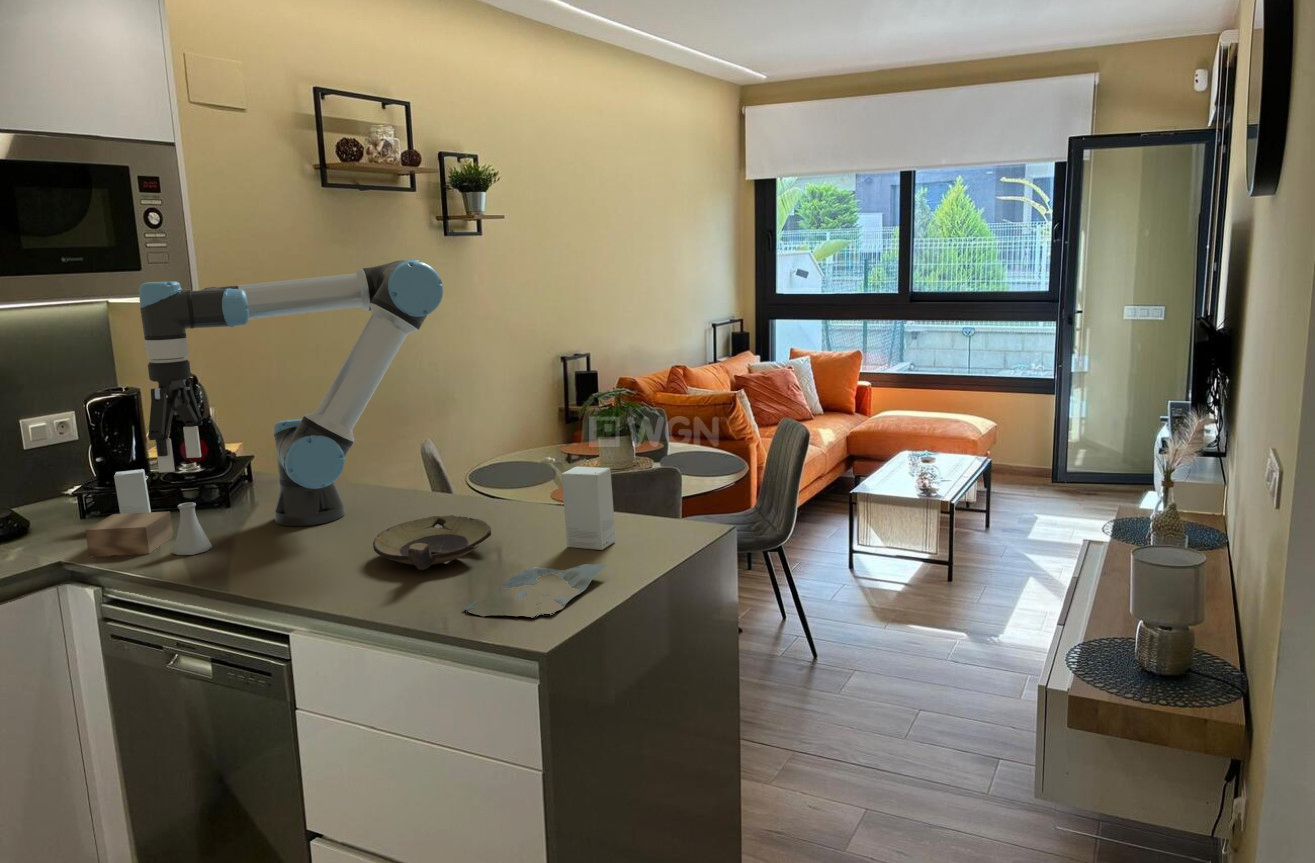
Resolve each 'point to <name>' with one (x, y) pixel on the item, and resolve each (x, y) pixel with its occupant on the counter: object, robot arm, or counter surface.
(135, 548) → the walnut block
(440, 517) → the oil lamp
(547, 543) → the counter surface
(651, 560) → the counter surface
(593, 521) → the skincare box
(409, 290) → the robot arm
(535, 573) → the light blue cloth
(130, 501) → the skincare box
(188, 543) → the flask
